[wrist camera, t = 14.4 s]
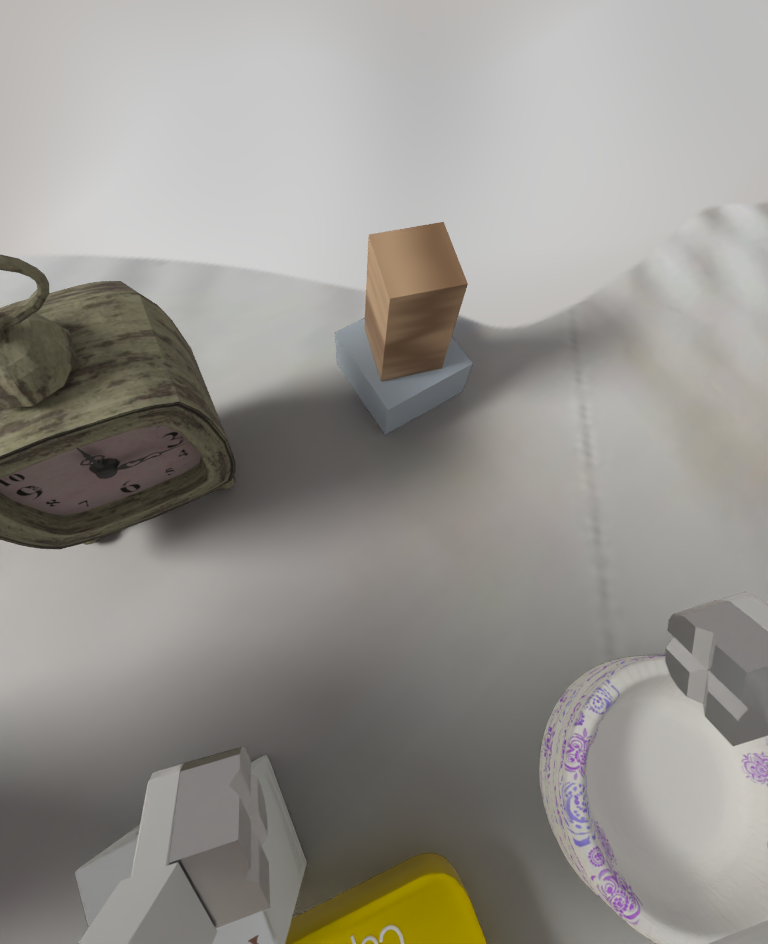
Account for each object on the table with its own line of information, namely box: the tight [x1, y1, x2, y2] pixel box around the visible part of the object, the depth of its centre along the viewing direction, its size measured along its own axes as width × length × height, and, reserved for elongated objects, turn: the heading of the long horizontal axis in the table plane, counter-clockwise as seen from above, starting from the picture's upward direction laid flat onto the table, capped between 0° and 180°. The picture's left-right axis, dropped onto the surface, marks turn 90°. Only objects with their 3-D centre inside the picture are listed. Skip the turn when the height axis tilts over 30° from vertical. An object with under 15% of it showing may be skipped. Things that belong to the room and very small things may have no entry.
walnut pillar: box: [365, 222, 467, 381], centre depth 39 cm, size 5×5×10 cm
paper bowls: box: [539, 655, 768, 944], centre depth 34 cm, size 15×15×8 cm
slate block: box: [335, 318, 473, 435], centre depth 46 cm, size 8×8×5 cm
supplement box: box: [75, 755, 307, 944], centre depth 30 cm, size 7×7×13 cm
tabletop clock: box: [0, 255, 235, 549], centre depth 32 cm, size 14×9×25 cm, turn 115°
